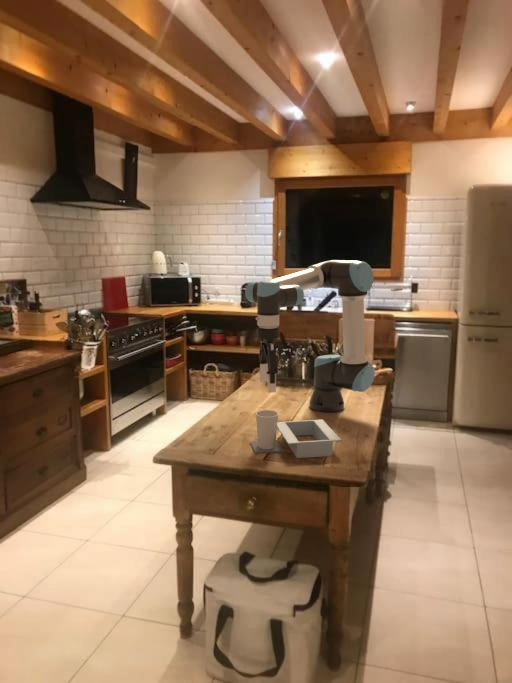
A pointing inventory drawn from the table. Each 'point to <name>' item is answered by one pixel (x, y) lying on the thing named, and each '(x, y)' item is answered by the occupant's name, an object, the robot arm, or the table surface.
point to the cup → (266, 428)
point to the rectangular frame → (308, 428)
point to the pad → (260, 450)
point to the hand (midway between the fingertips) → (267, 386)
